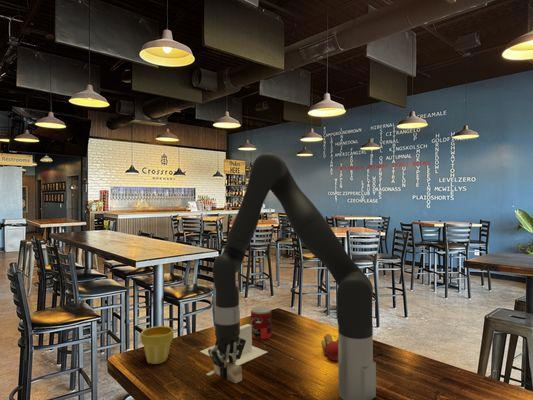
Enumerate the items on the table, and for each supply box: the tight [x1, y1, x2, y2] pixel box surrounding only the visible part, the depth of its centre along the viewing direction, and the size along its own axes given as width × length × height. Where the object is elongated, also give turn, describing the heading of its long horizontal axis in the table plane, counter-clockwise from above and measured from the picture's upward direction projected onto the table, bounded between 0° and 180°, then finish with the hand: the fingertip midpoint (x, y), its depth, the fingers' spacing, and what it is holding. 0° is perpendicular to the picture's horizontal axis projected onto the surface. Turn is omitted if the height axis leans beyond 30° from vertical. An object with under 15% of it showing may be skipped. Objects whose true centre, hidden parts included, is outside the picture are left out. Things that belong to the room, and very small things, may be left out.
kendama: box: [320, 333, 338, 361], centre depth 128 cm, size 8×6×18 cm
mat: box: [199, 345, 268, 366], centre depth 128 cm, size 18×16×1 cm
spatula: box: [206, 361, 243, 384], centre depth 112 cm, size 17×7×4 cm, turn 47°
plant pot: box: [140, 325, 174, 365], centre depth 123 cm, size 10×10×10 cm
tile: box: [237, 323, 253, 355], centre depth 125 cm, size 2×10×9 cm, turn 136°
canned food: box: [250, 306, 272, 341], centre depth 142 cm, size 8×8×11 cm
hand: (227, 376), depth 110 cm, fingers closed on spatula, 2 cm apart
